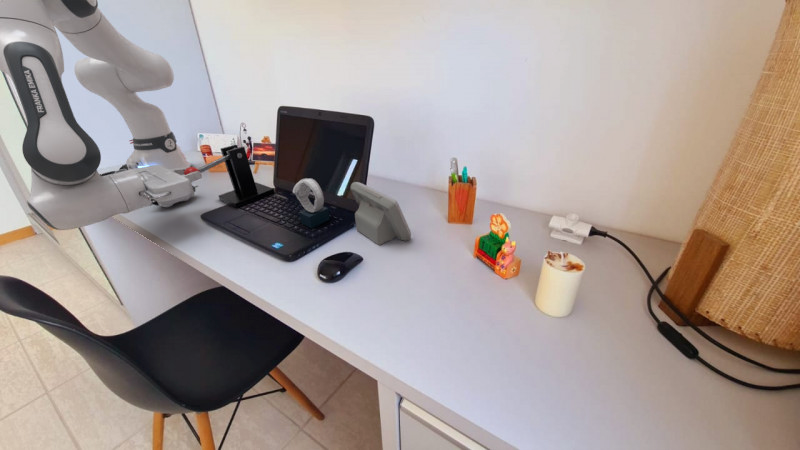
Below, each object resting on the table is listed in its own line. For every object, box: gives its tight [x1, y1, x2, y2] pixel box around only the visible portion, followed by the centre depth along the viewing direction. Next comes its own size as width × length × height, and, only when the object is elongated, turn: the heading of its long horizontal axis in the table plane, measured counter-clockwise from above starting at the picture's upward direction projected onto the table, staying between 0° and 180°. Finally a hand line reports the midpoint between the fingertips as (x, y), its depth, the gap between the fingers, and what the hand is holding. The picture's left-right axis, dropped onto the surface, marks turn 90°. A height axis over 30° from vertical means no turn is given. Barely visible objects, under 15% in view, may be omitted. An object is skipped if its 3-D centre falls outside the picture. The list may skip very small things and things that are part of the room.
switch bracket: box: [218, 144, 276, 209], centre depth 93 cm, size 12×10×15 cm
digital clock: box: [350, 181, 412, 246], centre depth 72 cm, size 16×9×11 cm, turn 27°
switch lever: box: [184, 148, 235, 182], centre depth 87 cm, size 15×4×4 cm, turn 142°
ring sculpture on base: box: [292, 177, 331, 229], centre depth 78 cm, size 6×8×11 cm
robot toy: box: [151, 184, 200, 208], centre depth 96 cm, size 12×4×15 cm
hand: (195, 172), depth 84 cm, fingers closed on switch lever, 3 cm apart
